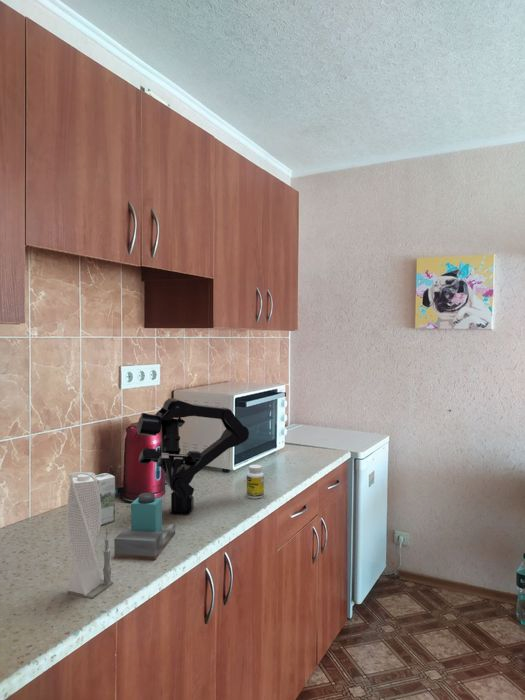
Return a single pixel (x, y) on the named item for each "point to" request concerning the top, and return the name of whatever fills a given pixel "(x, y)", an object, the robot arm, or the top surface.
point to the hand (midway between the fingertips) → (170, 483)
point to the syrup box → (106, 497)
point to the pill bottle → (255, 482)
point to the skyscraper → (86, 536)
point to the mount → (142, 543)
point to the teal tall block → (146, 513)
